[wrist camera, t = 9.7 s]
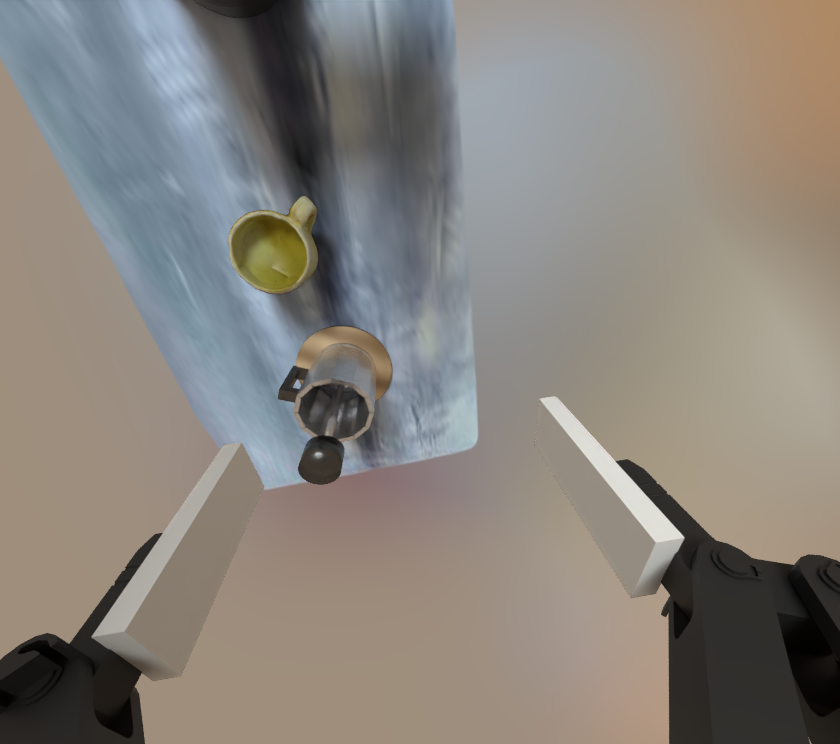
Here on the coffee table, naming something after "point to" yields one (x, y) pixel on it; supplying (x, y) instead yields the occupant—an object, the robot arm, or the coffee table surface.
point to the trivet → (352, 337)
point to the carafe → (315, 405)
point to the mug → (275, 247)
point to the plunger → (326, 443)
